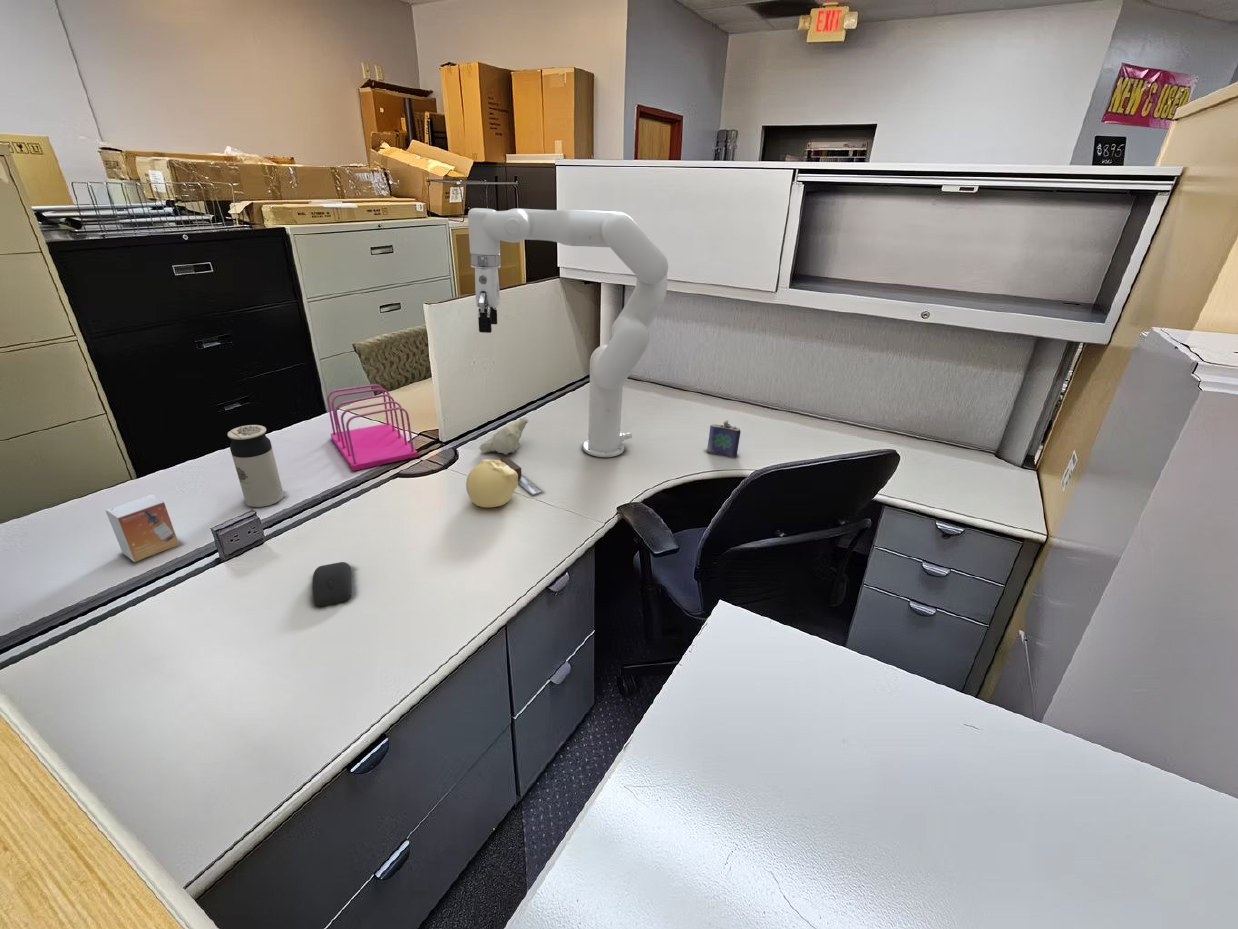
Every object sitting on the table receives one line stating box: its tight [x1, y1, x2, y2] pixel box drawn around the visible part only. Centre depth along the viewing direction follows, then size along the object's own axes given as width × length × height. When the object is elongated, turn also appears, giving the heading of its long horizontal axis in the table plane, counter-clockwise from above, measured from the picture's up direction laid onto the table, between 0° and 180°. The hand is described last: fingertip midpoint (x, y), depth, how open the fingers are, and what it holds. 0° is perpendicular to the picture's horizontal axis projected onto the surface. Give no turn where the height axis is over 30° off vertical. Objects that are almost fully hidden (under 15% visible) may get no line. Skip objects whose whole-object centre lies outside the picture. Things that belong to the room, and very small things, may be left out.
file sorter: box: [326, 384, 418, 471], centre depth 159 cm, size 17×25×16 cm
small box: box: [104, 493, 180, 563], centre depth 113 cm, size 8×6×10 cm
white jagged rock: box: [478, 416, 529, 456], centre depth 165 cm, size 15×7×15 cm
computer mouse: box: [312, 561, 353, 607], centre depth 107 cm, size 6×11×4 cm, turn 24°
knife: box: [499, 456, 542, 496], centre depth 149 cm, size 18×3×3 cm, turn 38°
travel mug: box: [227, 424, 285, 508], centre depth 131 cm, size 8×8×18 cm
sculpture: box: [465, 458, 519, 508], centre depth 137 cm, size 11×12×11 cm
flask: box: [706, 420, 741, 458], centre depth 169 cm, size 9×3×11 cm, turn 71°
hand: (488, 328), depth 151 cm, fingers open, 9 cm apart
